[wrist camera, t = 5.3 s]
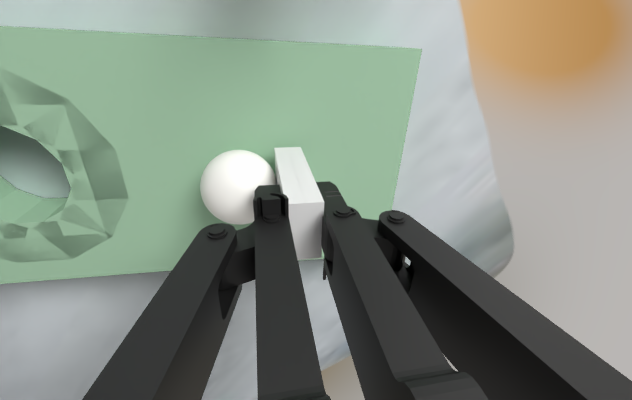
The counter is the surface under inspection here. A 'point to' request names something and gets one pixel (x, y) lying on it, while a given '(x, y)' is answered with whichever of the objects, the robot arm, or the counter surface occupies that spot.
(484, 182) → the counter surface
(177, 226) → the green
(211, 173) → the ball
